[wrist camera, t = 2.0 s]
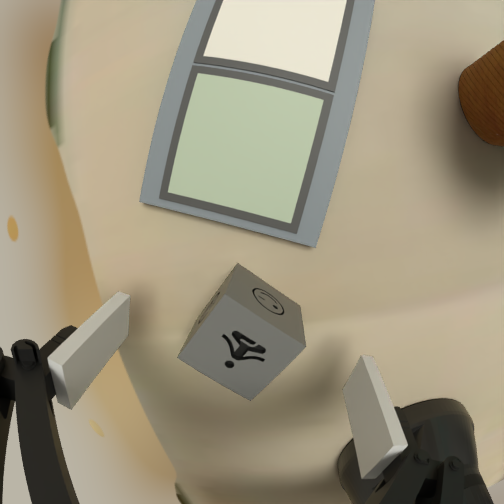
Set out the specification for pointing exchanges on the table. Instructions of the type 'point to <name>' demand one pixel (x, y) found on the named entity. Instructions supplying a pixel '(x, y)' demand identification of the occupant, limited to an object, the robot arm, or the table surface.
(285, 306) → the dice cube
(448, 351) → the table surface
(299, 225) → the picture board
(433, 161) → the table surface
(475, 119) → the disposable coffee cup
